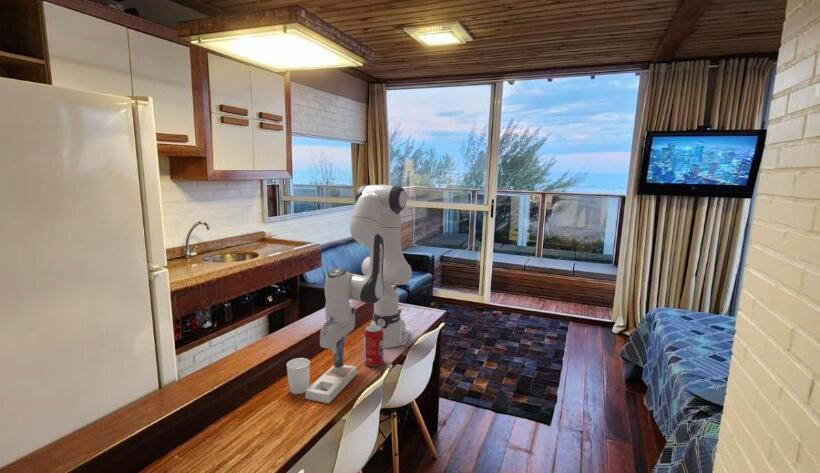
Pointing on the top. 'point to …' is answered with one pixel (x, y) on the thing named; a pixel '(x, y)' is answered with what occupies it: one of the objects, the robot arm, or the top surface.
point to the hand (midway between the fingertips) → (338, 349)
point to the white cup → (298, 375)
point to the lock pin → (339, 354)
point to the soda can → (373, 345)
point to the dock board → (331, 383)
